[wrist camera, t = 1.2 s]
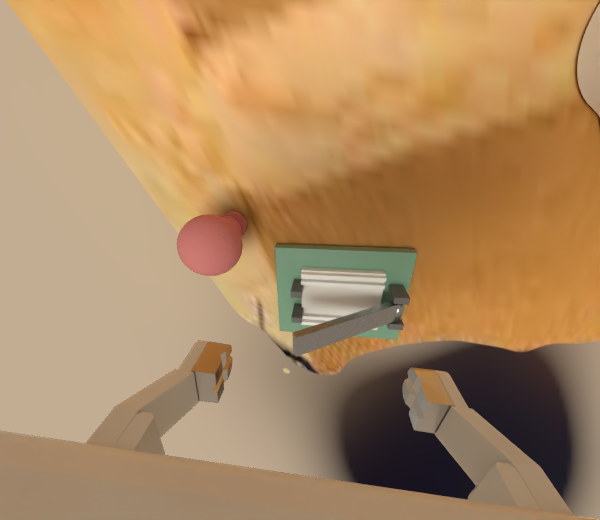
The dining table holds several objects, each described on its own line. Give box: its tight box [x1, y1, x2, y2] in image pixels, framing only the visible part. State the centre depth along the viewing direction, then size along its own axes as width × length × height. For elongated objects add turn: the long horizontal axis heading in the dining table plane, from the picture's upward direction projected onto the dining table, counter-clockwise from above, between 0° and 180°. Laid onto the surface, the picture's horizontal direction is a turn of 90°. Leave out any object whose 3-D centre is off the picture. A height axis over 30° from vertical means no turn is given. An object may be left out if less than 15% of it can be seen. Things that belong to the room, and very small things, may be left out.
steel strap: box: [293, 301, 405, 357], centre depth 31 cm, size 17×3×2 cm, turn 90°
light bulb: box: [177, 211, 247, 276], centre depth 30 cm, size 7×7×12 cm
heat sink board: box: [275, 244, 417, 340], centre depth 36 cm, size 20×16×5 cm
